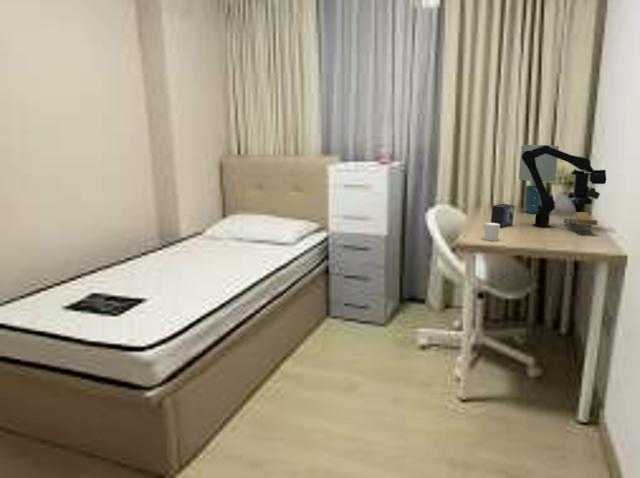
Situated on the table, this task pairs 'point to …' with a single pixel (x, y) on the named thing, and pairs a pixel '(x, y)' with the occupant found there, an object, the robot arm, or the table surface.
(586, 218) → the block
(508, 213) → the small box
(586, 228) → the pivot stand
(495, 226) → the white cup
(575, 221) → the brown long shallow tray
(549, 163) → the lamp
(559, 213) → the table surface
